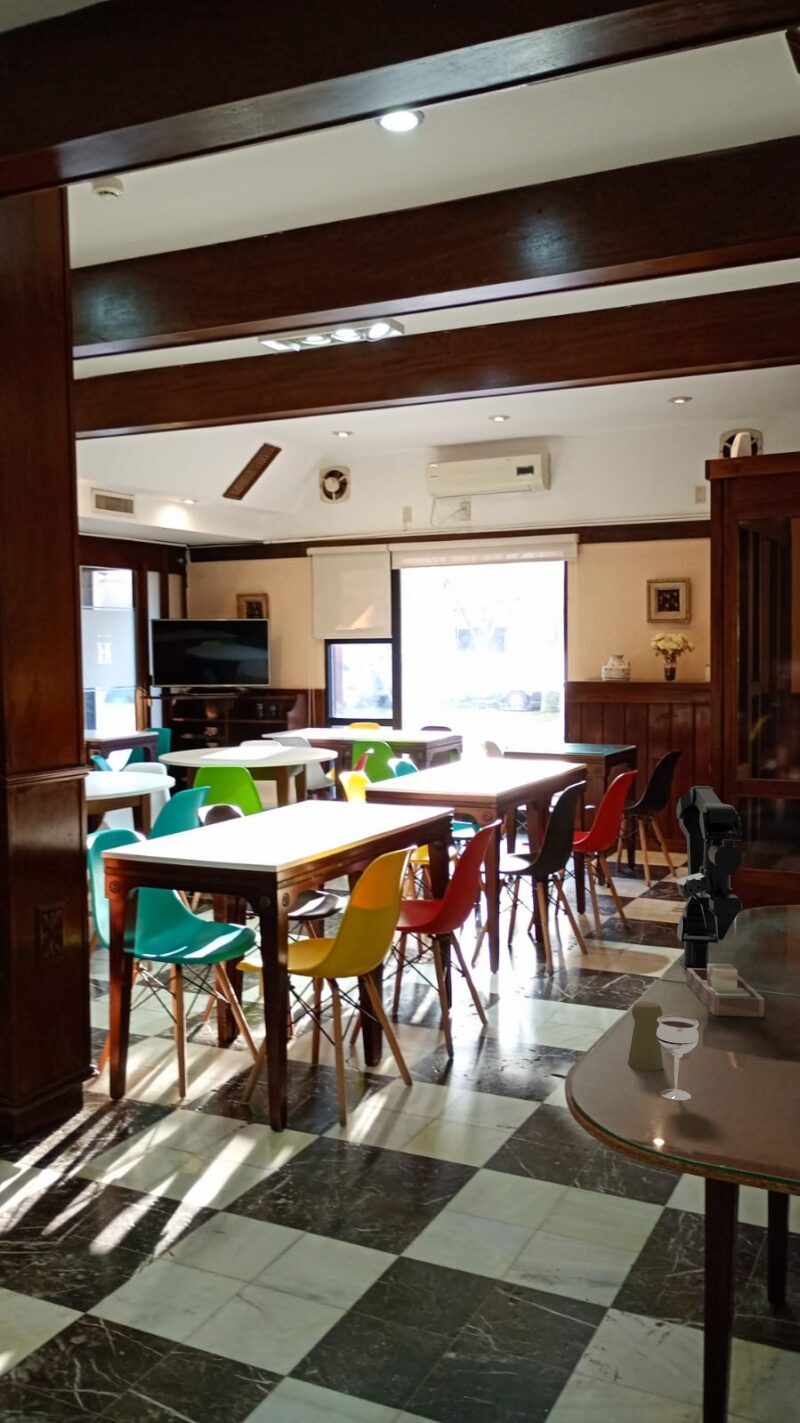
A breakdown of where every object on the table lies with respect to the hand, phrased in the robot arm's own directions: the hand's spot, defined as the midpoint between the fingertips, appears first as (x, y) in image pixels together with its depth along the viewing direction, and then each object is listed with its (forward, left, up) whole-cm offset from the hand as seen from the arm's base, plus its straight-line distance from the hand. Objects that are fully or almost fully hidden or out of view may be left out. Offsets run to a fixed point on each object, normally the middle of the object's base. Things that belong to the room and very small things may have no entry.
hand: (714, 934), depth 252 cm
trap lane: (+9, 0, -12) cm, 15 cm away
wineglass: (+64, -23, -12) cm, 69 cm away
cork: (+50, -25, -12) cm, 57 cm away
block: (+7, 0, -9) cm, 12 cm away
